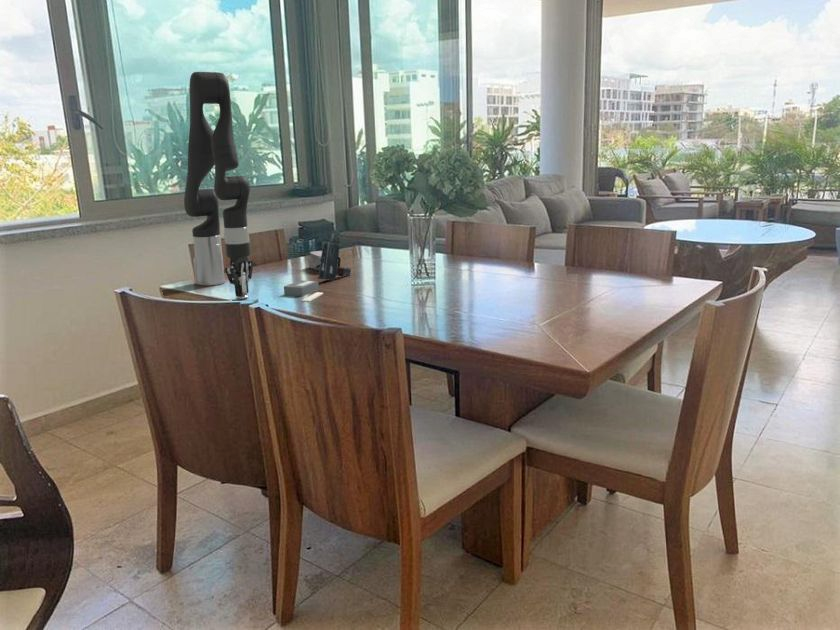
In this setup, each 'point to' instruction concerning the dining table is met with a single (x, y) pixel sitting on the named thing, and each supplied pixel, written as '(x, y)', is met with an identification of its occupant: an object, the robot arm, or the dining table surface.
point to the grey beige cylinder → (243, 288)
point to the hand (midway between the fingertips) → (242, 294)
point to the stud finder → (301, 288)
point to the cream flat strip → (312, 297)
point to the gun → (331, 261)
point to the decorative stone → (315, 260)
